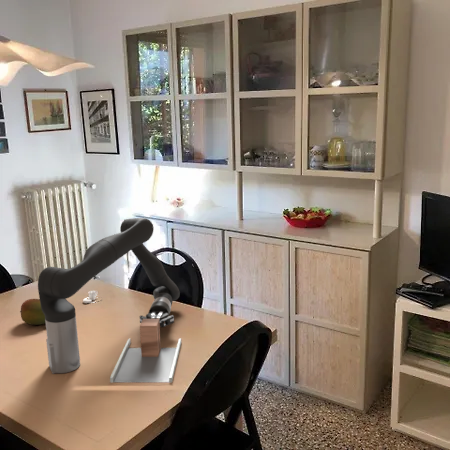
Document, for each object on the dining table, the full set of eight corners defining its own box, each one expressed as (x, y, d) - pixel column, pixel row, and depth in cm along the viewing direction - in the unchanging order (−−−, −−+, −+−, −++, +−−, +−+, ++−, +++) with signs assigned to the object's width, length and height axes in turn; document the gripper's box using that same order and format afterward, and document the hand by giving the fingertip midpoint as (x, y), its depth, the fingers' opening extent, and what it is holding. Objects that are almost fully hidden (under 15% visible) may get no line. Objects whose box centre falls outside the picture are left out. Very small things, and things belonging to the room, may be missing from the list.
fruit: (21, 320, 198) (18, 296, 196) (54, 314, 203) (51, 291, 201) (22, 332, 188) (19, 307, 186) (57, 325, 193) (54, 301, 190)
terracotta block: (158, 356, 165) (156, 325, 163) (141, 356, 166) (139, 325, 163) (160, 348, 171) (159, 318, 168) (144, 348, 171) (142, 318, 168)
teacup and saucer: (84, 305, 213) (84, 296, 212) (79, 300, 219) (78, 291, 218) (104, 301, 217) (104, 292, 216) (98, 295, 224) (97, 287, 223)
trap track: (172, 385, 150) (171, 377, 150) (110, 385, 151) (109, 377, 150) (181, 344, 175) (181, 338, 175) (128, 345, 176) (128, 338, 175)
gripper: (142, 300, 188) (132, 319, 171) (177, 300, 187) (171, 319, 171) (143, 319, 190) (134, 339, 173) (178, 319, 189) (172, 339, 172)
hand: (152, 329), depth 172 cm, fingers closed
